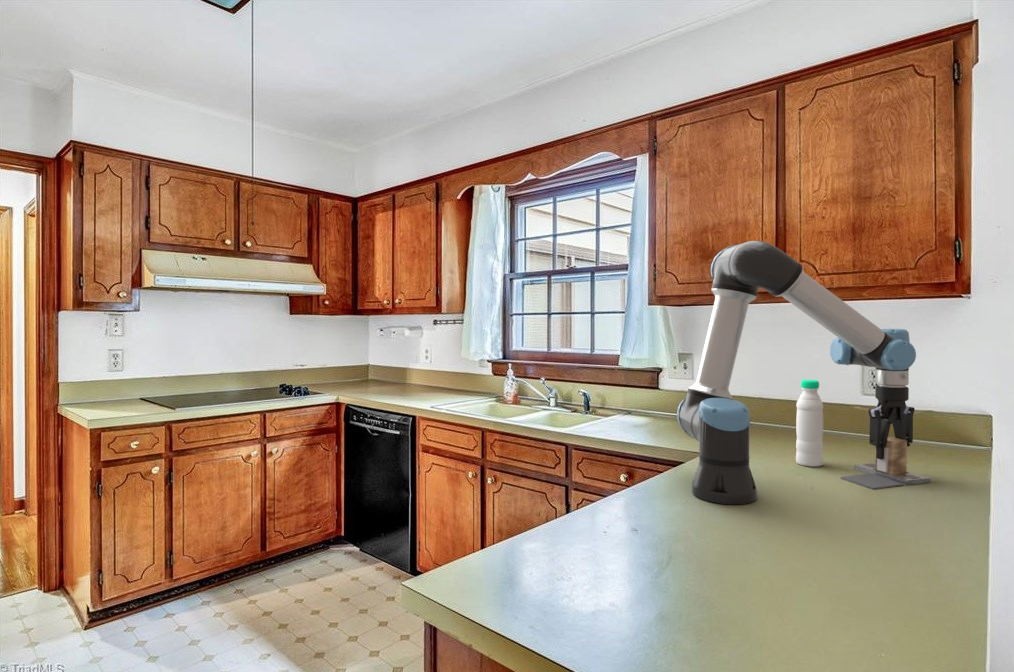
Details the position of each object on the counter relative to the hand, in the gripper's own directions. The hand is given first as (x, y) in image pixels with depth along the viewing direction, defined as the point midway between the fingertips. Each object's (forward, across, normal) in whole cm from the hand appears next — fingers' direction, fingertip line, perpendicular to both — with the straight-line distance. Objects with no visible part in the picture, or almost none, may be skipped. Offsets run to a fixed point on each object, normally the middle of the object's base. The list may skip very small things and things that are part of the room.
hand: (890, 469), depth 155 cm
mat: (+2, -10, -3) cm, 11 cm away
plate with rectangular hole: (+2, 0, 0) cm, 2 cm away
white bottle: (+2, -12, +16) cm, 20 cm away
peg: (+2, 0, 0) cm, 2 cm away
